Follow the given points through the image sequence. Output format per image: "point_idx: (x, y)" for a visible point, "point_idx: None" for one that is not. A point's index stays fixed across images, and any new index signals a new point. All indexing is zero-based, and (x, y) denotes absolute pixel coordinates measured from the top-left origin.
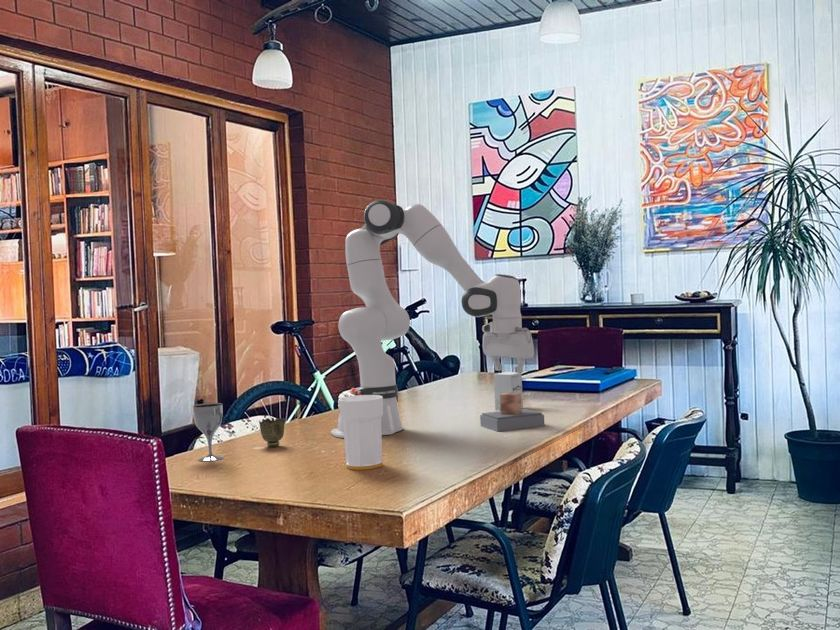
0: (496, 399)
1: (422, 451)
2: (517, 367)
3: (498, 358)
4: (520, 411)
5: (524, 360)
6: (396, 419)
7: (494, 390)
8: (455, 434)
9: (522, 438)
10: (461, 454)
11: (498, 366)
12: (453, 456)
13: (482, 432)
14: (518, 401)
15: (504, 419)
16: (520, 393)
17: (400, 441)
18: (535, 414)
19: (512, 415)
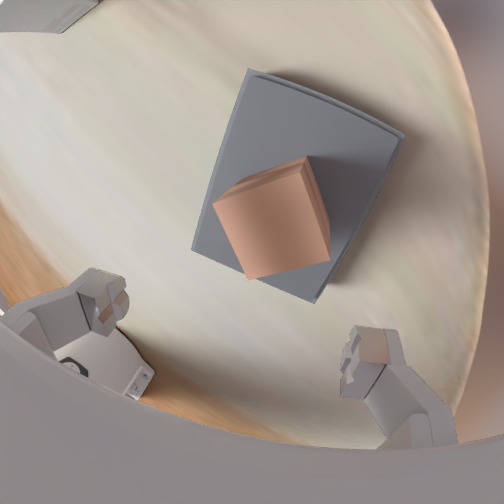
0: (43, 29)
1: (310, 435)
2: (373, 399)
3: (40, 334)
4: (311, 171)
5: (447, 426)
6: (123, 365)
7: (20, 31)
8: (246, 344)
9: (429, 323)
10: (378, 430)
11: (111, 324)
12: (373, 437)
13: (286, 307)
14: (317, 203)
15: (327, 282)
16: (302, 177)
17: (218, 404)
18: (385, 164)
19: (331, 245)
